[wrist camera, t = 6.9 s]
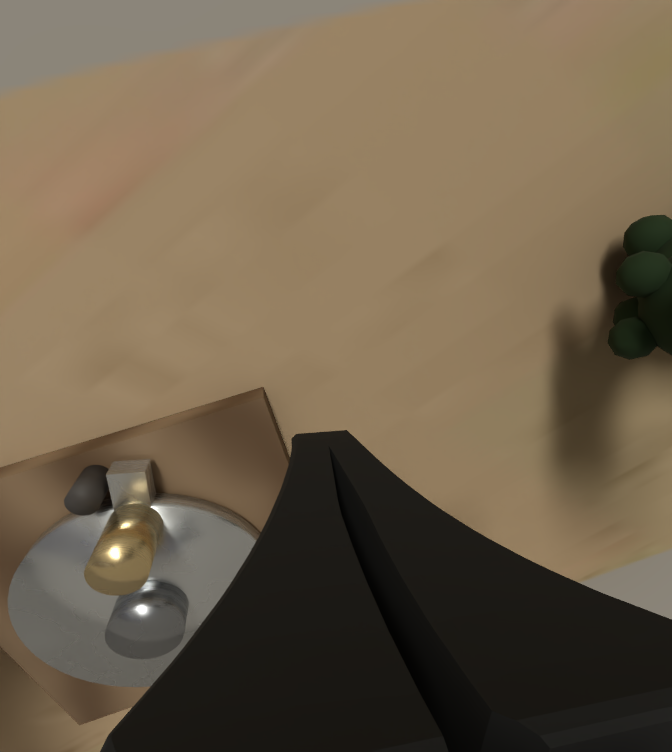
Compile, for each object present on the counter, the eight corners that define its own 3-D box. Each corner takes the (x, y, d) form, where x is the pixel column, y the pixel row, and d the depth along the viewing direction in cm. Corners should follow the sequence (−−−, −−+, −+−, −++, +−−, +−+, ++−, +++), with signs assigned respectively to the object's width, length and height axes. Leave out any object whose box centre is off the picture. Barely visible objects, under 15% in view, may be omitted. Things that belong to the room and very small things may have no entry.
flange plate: (279, 649, 25) (282, 719, 22) (52, 685, 23) (17, 769, 20) (273, 450, 20) (277, 502, 16) (-29, 471, 17) (-100, 536, 14)
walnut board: (86, 703, 26) (67, 761, 24) (-107, 500, 19) (-168, 550, 16) (346, 613, 28) (356, 657, 25) (263, 387, 20) (263, 415, 17)
